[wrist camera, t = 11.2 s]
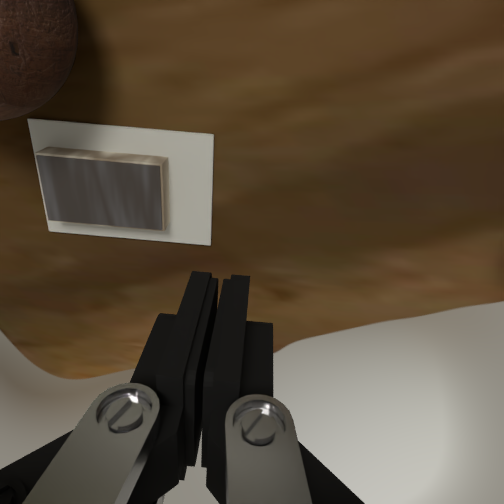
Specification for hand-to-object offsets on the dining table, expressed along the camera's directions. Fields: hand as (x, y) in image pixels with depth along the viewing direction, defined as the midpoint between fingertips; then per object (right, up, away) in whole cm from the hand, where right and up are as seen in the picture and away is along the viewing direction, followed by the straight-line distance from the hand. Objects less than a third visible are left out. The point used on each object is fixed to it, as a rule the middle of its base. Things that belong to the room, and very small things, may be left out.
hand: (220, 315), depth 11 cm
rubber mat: (-12, +9, +29) cm, 33 cm away
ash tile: (-8, +8, +28) cm, 30 cm away
